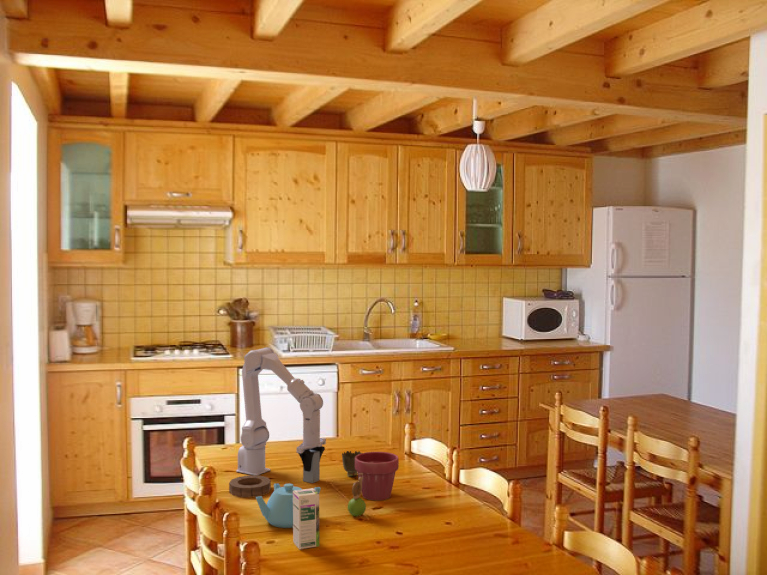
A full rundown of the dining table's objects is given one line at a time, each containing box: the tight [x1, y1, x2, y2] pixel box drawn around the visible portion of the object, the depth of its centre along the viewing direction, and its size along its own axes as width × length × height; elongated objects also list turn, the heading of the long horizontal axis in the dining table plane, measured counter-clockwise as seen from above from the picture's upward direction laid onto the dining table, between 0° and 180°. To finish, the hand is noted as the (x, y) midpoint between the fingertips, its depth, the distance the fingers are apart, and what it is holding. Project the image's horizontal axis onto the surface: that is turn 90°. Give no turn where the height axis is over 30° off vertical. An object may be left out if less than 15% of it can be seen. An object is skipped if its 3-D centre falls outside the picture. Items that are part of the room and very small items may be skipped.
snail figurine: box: [347, 473, 367, 517], centre depth 225 cm, size 5×6×12 cm
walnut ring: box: [228, 475, 272, 498], centre depth 247 cm, size 13×13×3 cm
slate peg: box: [302, 450, 321, 484], centre depth 258 cm, size 4×4×10 cm
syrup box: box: [292, 487, 320, 550], centre depth 202 cm, size 6×6×14 cm
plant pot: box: [355, 451, 400, 501], centre depth 242 cm, size 14×14×13 cm
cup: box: [341, 450, 362, 478], centre depth 264 cm, size 8×7×8 cm
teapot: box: [255, 483, 321, 529], centre depth 220 cm, size 15×15×11 cm
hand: (311, 469), depth 258 cm, fingers closed on slate peg, 4 cm apart
